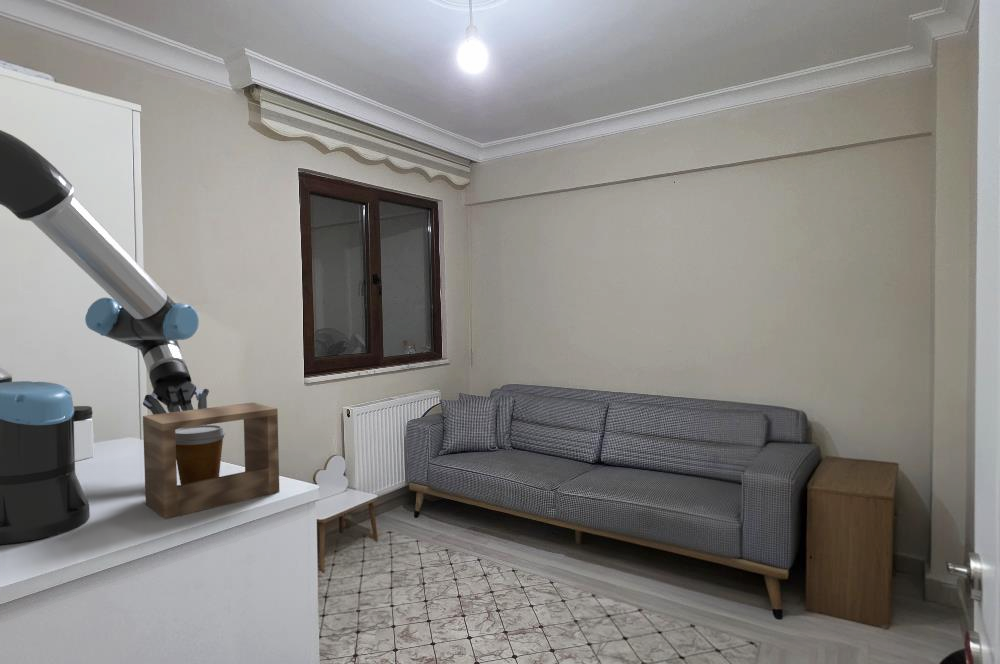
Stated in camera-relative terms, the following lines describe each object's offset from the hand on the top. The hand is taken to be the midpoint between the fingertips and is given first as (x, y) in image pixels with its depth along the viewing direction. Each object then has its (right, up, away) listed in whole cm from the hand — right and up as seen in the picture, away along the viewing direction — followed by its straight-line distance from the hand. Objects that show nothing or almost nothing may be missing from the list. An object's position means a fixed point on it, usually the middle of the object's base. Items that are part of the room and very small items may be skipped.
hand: (198, 458), depth 119 cm
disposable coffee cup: (+3, -5, -4) cm, 7 cm away
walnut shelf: (+8, -5, -9) cm, 13 cm away
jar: (-41, -5, +22) cm, 47 cm away
